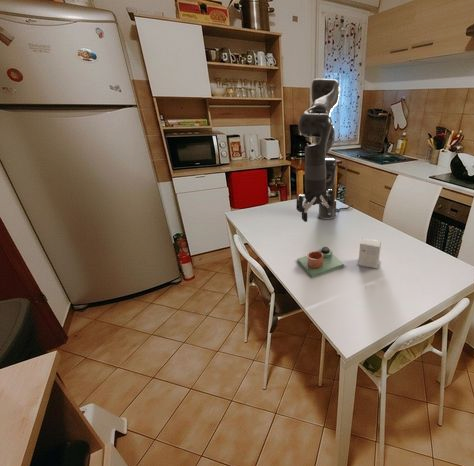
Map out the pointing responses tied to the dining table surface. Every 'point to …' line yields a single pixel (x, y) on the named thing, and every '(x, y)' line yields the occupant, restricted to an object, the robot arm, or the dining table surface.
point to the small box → (369, 252)
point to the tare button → (325, 250)
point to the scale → (328, 265)
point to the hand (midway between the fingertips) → (315, 218)
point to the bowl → (315, 259)
